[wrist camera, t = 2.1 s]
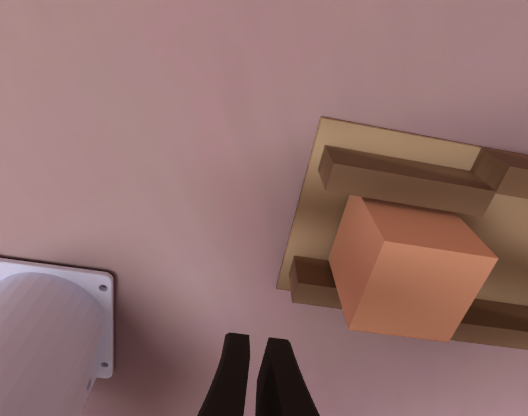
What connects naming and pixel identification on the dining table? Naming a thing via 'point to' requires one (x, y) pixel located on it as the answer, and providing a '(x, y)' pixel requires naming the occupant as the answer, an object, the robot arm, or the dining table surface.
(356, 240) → the block
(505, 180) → the chute
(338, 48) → the dining table surface
